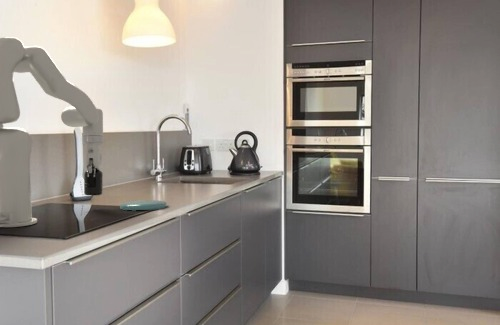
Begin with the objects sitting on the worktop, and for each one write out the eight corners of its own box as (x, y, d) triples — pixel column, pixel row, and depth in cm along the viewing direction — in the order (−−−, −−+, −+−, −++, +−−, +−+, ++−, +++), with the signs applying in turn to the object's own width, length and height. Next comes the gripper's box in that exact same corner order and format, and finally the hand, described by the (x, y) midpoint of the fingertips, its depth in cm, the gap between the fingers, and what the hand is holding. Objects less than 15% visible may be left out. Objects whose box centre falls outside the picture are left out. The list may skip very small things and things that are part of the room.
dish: (150, 211, 187) (150, 207, 187) (110, 209, 194) (110, 205, 194) (175, 205, 204) (175, 201, 204) (137, 203, 210) (137, 199, 210)
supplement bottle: (83, 195, 191) (83, 164, 191) (84, 194, 198) (84, 163, 197) (102, 195, 193) (102, 164, 192) (102, 193, 199) (102, 163, 199)
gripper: (99, 140, 186) (100, 188, 187) (105, 140, 204) (106, 184, 204) (78, 140, 185) (79, 188, 186) (86, 140, 202) (87, 185, 203)
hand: (93, 186), depth 195 cm, fingers closed on supplement bottle, 6 cm apart
